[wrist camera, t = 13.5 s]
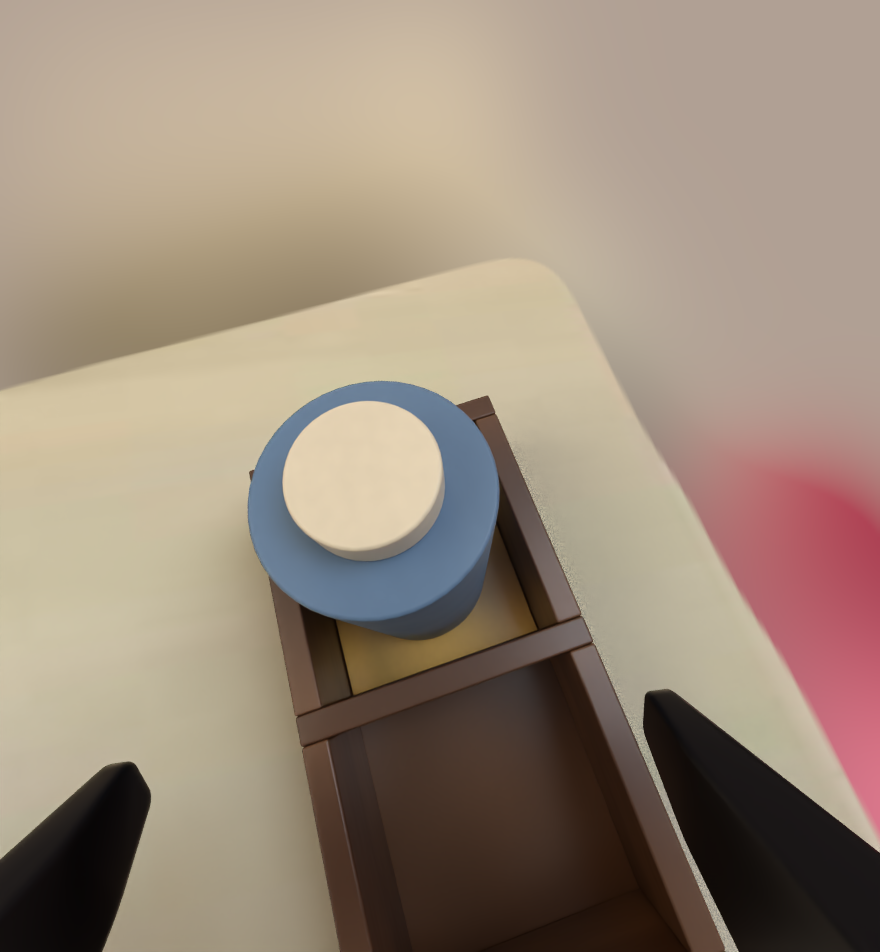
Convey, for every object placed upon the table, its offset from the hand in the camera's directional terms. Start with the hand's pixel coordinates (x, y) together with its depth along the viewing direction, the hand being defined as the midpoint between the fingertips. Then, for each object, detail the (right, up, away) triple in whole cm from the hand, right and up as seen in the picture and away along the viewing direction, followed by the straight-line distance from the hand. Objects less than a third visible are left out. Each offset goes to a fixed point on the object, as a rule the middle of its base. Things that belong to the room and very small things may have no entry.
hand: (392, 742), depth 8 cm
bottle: (0, +1, +10) cm, 10 cm away
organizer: (+1, -3, +9) cm, 10 cm away
